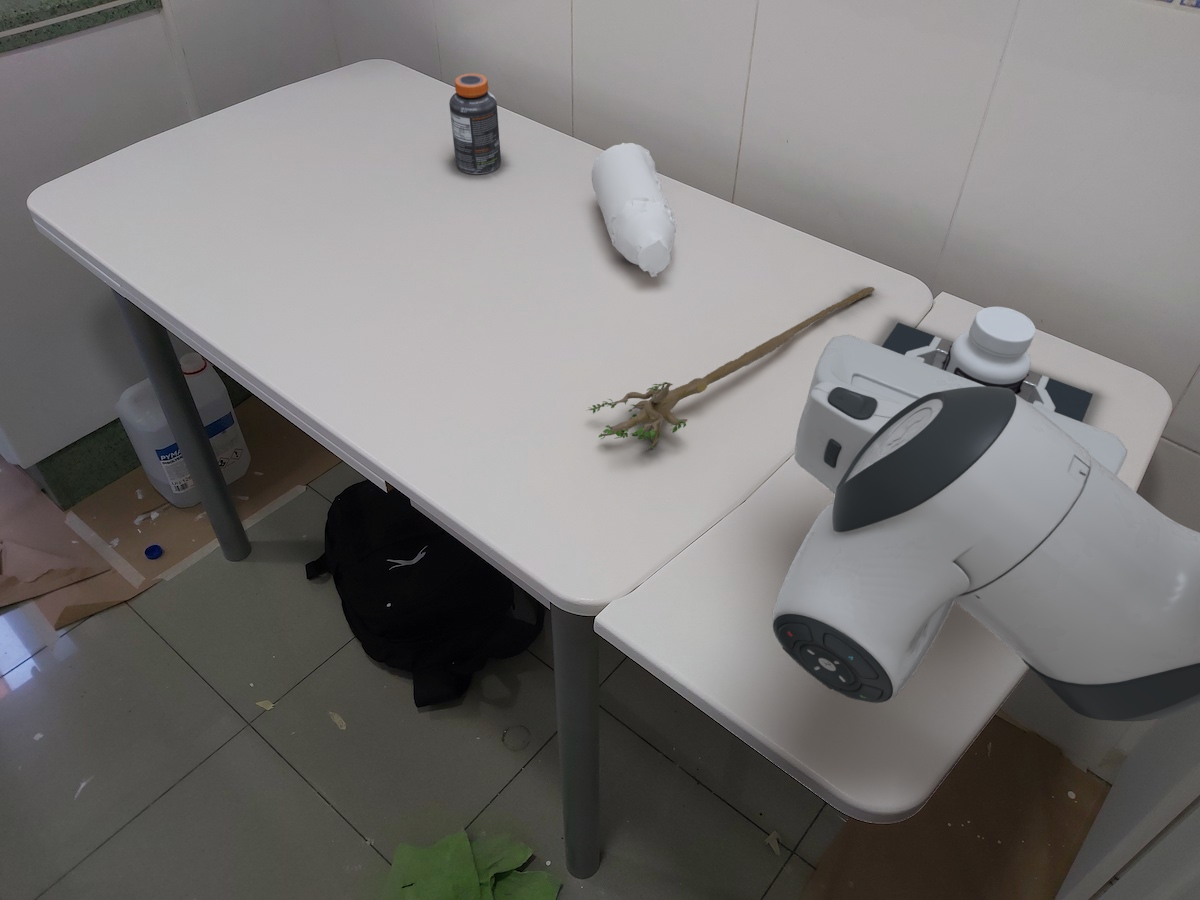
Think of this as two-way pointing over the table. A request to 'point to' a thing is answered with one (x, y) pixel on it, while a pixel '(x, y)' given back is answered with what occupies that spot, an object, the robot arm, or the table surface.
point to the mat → (1061, 394)
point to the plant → (700, 384)
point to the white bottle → (634, 206)
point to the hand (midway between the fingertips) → (987, 363)
